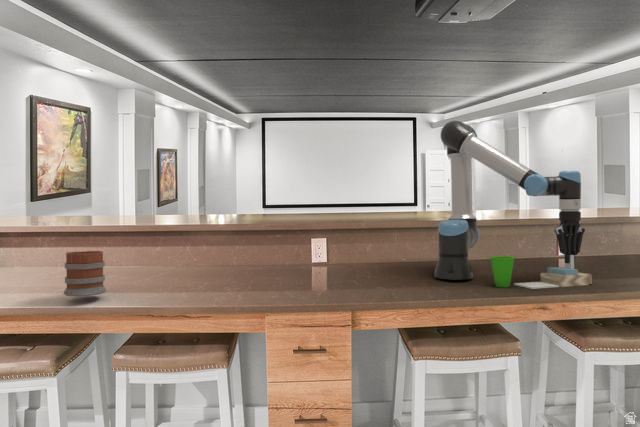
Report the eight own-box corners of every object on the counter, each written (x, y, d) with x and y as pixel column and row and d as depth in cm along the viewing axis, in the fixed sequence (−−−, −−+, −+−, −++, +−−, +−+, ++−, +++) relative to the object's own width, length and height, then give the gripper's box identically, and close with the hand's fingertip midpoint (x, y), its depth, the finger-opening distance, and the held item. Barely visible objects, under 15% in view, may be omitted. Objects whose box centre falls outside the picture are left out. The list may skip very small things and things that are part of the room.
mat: (532, 288, 181) (532, 287, 181) (513, 284, 191) (513, 283, 191) (559, 287, 185) (559, 285, 185) (539, 283, 194) (539, 281, 194)
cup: (488, 287, 185) (488, 257, 185) (491, 283, 194) (490, 255, 194) (514, 288, 182) (514, 258, 182) (515, 285, 190) (515, 256, 190)
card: (565, 275, 186) (565, 270, 186) (547, 272, 195) (547, 267, 195) (578, 274, 188) (578, 269, 188) (559, 272, 197) (559, 267, 197)
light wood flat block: (560, 287, 185) (560, 276, 185) (540, 283, 194) (540, 273, 194) (591, 284, 189) (591, 274, 189) (571, 281, 199) (571, 271, 199)
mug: (55, 296, 172) (55, 253, 172) (81, 288, 192) (80, 249, 191) (96, 296, 173) (96, 253, 173) (117, 287, 192) (117, 248, 192)
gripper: (564, 210, 187) (563, 273, 187) (591, 210, 191) (590, 272, 191) (549, 210, 194) (548, 271, 194) (575, 210, 198) (575, 269, 198)
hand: (569, 271), depth 193 cm, fingers closed
